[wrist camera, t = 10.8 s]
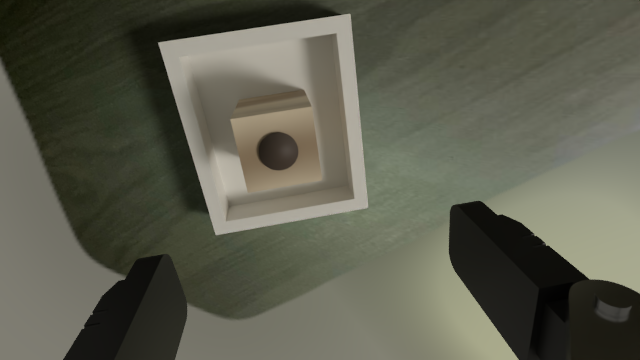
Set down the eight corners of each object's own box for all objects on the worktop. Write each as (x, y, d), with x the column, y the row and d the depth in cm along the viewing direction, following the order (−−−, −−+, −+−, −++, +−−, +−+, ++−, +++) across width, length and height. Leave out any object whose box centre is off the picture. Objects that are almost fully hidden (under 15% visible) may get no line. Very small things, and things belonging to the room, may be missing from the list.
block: (239, 99, 26) (229, 119, 21) (303, 89, 27) (312, 106, 21) (252, 160, 28) (247, 193, 23) (312, 150, 29) (322, 181, 23)
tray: (170, 40, 25) (158, 42, 22) (341, 14, 25) (350, 13, 23) (221, 216, 30) (215, 235, 28) (359, 191, 31) (368, 207, 28)
